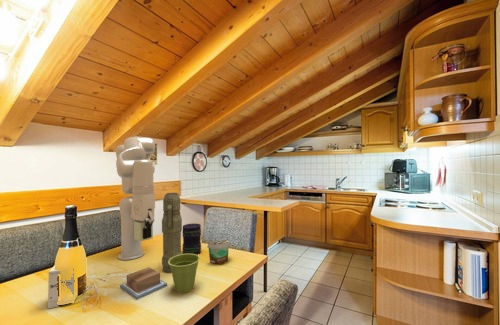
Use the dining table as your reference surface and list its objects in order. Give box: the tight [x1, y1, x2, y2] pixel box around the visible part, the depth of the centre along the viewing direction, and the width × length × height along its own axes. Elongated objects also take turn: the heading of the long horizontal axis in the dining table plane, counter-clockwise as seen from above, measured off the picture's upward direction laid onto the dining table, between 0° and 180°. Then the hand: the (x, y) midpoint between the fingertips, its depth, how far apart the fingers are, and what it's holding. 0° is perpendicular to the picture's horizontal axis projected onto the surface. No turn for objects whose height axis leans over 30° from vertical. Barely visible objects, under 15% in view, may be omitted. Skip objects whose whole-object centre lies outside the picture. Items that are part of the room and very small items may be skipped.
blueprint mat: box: [119, 279, 168, 301], centre depth 91 cm, size 14×12×1 cm
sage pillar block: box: [134, 218, 154, 243], centre depth 91 cm, size 5×5×7 cm
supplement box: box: [47, 264, 75, 309], centre depth 82 cm, size 7×7×13 cm
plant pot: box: [168, 253, 201, 294], centre depth 89 cm, size 12×12×11 cm
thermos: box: [161, 192, 183, 274], centre depth 107 cm, size 9×12×35 cm
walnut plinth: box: [126, 266, 161, 293], centre depth 91 cm, size 9×9×4 cm
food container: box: [206, 237, 231, 266], centre depth 113 cm, size 12×6×10 cm, turn 131°
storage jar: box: [181, 223, 202, 256], centre depth 126 cm, size 10×10×15 cm
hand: (143, 236), depth 91 cm, fingers closed on sage pillar block, 5 cm apart
